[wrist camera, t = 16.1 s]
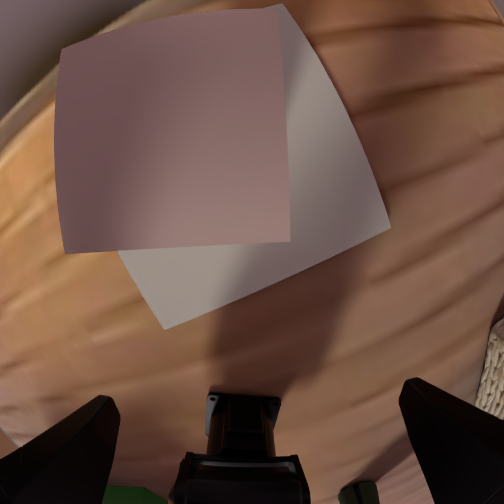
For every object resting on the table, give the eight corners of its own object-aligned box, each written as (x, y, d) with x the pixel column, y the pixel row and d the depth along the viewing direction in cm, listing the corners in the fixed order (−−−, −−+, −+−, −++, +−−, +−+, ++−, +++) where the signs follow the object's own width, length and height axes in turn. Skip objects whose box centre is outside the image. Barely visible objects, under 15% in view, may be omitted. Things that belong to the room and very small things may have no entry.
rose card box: (258, 194, 18) (290, 241, 6) (179, 199, 17) (65, 254, 5) (255, 116, 16) (277, 8, 4) (175, 122, 16) (61, 49, 4)
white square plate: (386, 225, 19) (391, 227, 18) (167, 324, 21) (164, 330, 20) (281, 8, 15) (282, 3, 14) (64, 119, 16) (59, 118, 15)
